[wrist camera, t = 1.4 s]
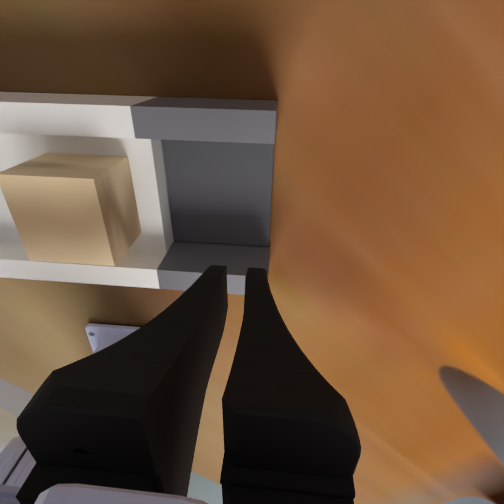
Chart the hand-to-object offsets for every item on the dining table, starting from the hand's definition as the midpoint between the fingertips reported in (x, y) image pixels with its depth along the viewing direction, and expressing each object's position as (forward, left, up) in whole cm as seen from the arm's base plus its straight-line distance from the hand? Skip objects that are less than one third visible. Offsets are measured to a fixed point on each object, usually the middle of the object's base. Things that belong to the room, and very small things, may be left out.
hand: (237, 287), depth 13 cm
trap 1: (0, +3, -10) cm, 11 cm away
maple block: (0, +10, -8) cm, 13 cm away
